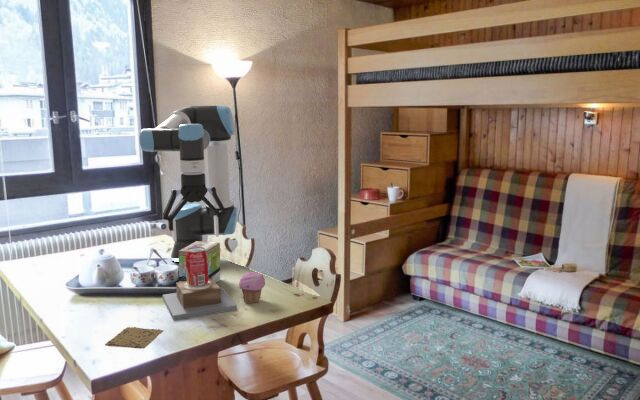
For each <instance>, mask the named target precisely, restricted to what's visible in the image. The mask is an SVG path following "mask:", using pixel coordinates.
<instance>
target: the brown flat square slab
mask: <svg viewBox="0 0 640 400" xmlns="http://www.w3.org/2000/svg"><path fill="white" fill-rule="evenodd" d="M163 332H164V330H162V329H159V328H158V329H157V328H155V329H154V328H143V327H142V328H141V327H136V326H134V327H133V326H132V327H130V326H129V327H128V326H127V327H125V328H124V329H122V331H120V332H119V333H118V334H116V335H115V336H114V337H113V338H111V339H110V340H108V341H107V342H106V343H105V344H104V345H105V346H109V347H110V346H111V347H122V348H132V349H133V348H135V349H145V348H146V347H148V346H149V345H150V344H151V343H152V342H153V341H154V340H156V339H157V336H158V335H159V334H160V335H161V334H162V333H163ZM160 335H159V336H160ZM159 336H158V337H159Z"/></svg>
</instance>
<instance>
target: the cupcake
mask: <svg viewBox="0 0 640 400" xmlns="http://www.w3.org/2000/svg"><path fill="white" fill-rule="evenodd" d="M265 279H266V278H265V277H264V274H262V273H258V272H254V271H247V272H245V273H243V275H242V276H241V277H240V279H239V282H238V287H239V289H241V292H242V297H243V301H244V303H246V304H253V303H254V304H255V303H258V302H259V301H260V300H261V295H262V289H264V287H265V285H266V280H265Z"/></svg>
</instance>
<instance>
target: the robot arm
mask: <svg viewBox="0 0 640 400" xmlns="http://www.w3.org/2000/svg"><path fill="white" fill-rule="evenodd" d="M233 135H235V122H234V117H233V113H232V110H231V108H230V107H229V106H225V105H224V106H223V105H190V106H185V107H182V108H179V109H177V110H174V111H172V112H171V113H170V114H169V115H168V116H167V117H166V120H165V121H163V122H161V123H160V124H159V125H157V126H156V127H155V128H149V127H148V128H142V129H141V130H140V132H139V138H138V139H139V147H140V148H141V150H142V151H144V152H151V153H155V152H179V163H180V165H179V166H180V167H179V168H180V172H181V175H180V183H181V184H180V185H181V186H180V189H175V188H172V189H171V190H170V192H171V193H170V197H169V200H168V202H167V203H166V206H165V208H164V211H163V213H162V215H161V218H162V219H163V220H165V221H168V222H167V223H168V224H167V225H168V230H169V231H170V232H171V234H172V237H171V238H172V240H173V242H174V243H173V247H172V251H171V253H170V259H171V258H179V250H181V249H183V248H185V247H187V246H189V245H190V244H192V243H194V242H196V241H202V242H204V240H203V236H215V237H219V236H225V235H228V236H229V235H230V236H231V235H233V234H234V233H235V232H236V228H237V222H238V212H239V210H238V207H236V206H235V203H234V201H232V199H230V198H231V196H230V195H231V194H230V193H231V192H230V173H229V150H228V144H229V142H230V141H231V140H232V136H233ZM205 151H206V163H205ZM205 164H206V165H205ZM205 168H207V183H206V173H205V171H206V169H205ZM206 185H208V186H207V187H206ZM207 193H208V198H207V197H205V196H206V195H207ZM179 195H181V196H182V198H180V201H179V202H178V203H177V205H176V206H175V207H174V209H173V210H172V208H173V206H174V203H175V201H176V199H177V197H179ZM201 201H203V202H204V204H205V207H202V204H201V203H200V202H201ZM187 203H190V204H187ZM171 210H172V211H171Z"/></svg>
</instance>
